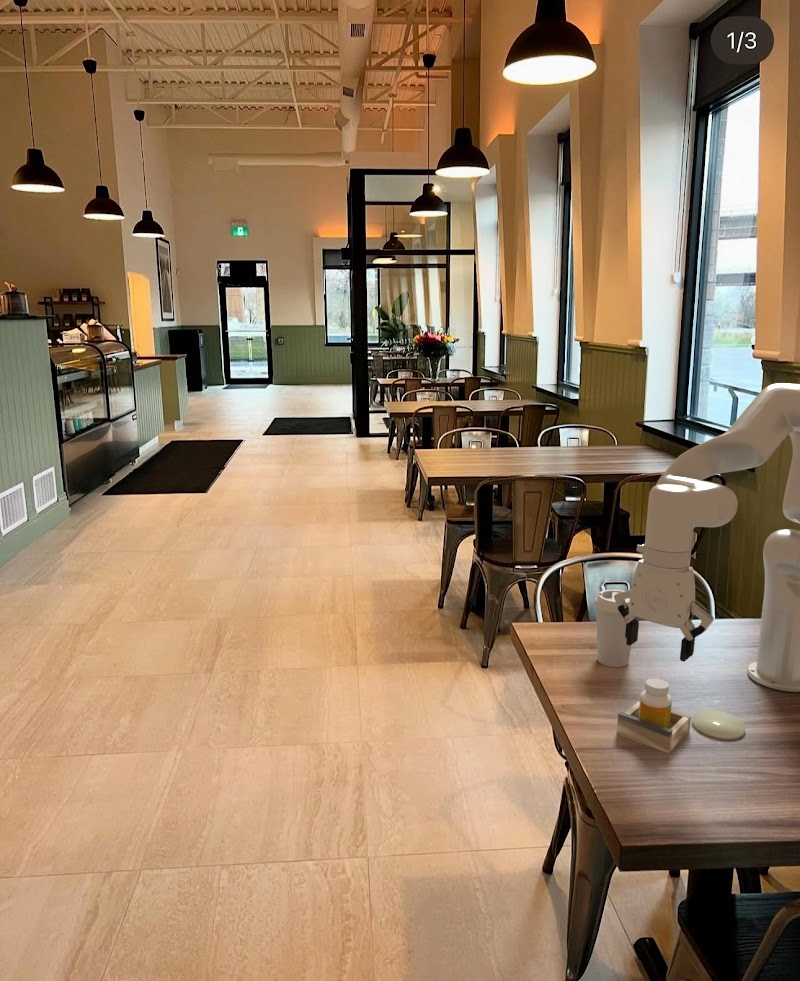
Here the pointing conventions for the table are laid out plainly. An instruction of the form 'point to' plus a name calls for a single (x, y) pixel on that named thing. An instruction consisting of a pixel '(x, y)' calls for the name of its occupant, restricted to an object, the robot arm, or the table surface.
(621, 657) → the coffee cup
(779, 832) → the table surface
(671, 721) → the can holder
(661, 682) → the supplement bottle
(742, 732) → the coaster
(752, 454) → the robot arm
